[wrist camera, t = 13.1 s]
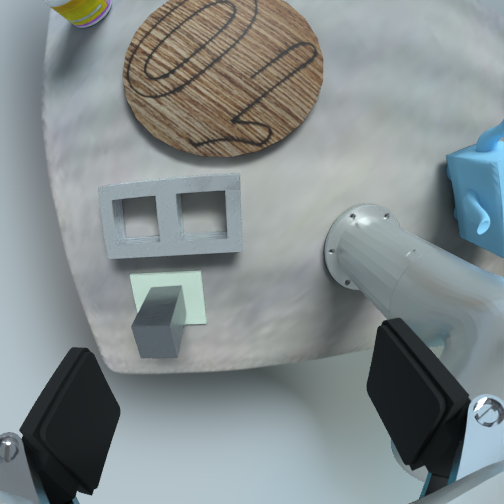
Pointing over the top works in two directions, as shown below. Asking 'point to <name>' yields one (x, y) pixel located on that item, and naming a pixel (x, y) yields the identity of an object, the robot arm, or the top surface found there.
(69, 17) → the supplement bottle
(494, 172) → the teakettle
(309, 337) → the top surface
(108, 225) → the grey cinder block
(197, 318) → the sage pad
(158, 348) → the zinc peg
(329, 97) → the top surface
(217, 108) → the trivet
